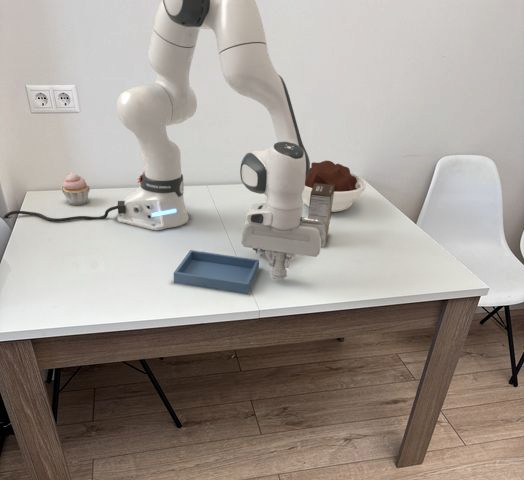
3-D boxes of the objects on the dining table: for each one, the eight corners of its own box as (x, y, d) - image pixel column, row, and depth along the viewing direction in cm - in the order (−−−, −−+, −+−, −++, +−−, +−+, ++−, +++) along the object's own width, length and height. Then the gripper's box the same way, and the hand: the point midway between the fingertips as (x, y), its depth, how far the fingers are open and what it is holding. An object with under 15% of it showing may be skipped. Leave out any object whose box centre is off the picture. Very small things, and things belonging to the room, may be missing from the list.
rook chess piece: (278, 270, 132) (280, 243, 127) (290, 276, 129) (293, 249, 124) (266, 275, 129) (268, 248, 124) (278, 282, 127) (281, 254, 122)
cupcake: (87, 195, 170) (82, 166, 164) (95, 204, 164) (91, 174, 158) (60, 199, 166) (54, 169, 160) (67, 209, 160) (61, 178, 154)
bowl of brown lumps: (374, 207, 176) (382, 164, 167) (334, 226, 160) (341, 180, 151) (318, 188, 188) (323, 147, 179) (276, 204, 173) (279, 161, 164)
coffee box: (308, 232, 156) (314, 182, 146) (328, 235, 155) (335, 184, 145) (304, 244, 148) (310, 192, 139) (325, 247, 148) (332, 195, 138)
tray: (174, 283, 126) (173, 272, 125) (190, 259, 137) (190, 249, 135) (247, 294, 124) (248, 284, 122) (258, 269, 134) (259, 259, 133)
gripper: (327, 215, 120) (320, 266, 128) (246, 205, 122) (244, 255, 131) (324, 225, 115) (317, 277, 123) (240, 214, 118) (238, 265, 126)
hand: (279, 265), depth 127 cm, fingers closed on rook chess piece, 3 cm apart
